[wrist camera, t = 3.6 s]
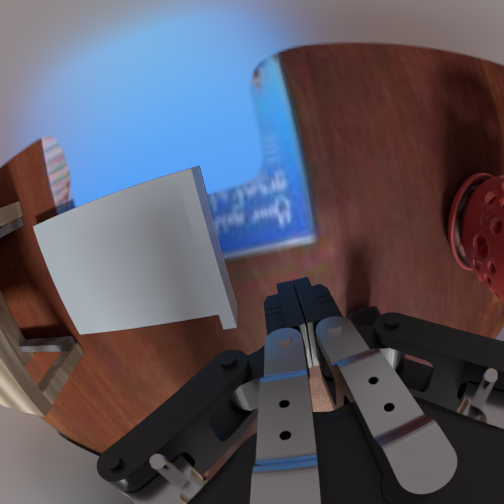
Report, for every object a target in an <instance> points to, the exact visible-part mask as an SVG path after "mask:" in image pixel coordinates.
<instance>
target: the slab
mask: <svg viewBox="0 0 504 504" xmlns="http://www.w3.org/2000/svg"><path fill="white" fill-rule="evenodd" d="M33 229H34V232H35V235H36V238H37V240H38V243H39V246H40V249H41V252H42V254H43V257H44V259H45V262H46V265H47V267H48V270H49V272H50V274H51V277H52V279H53V281H54V284H55V286H56V288H57V290H58V293H59V295H60V297H61V299H62V301H63V303H64V305H65V307H66V309H67V311H68V313H69V315H70V317H71V319H72V321H73V323H74V325H75V327H76V328H77V330H78V332H79V334H89V333H98V332H107V331H115V330H123V329H130V328H138V327H145V326H152V325H159V324H165V323H172V322H178V321H184V320H190V319H196V318H202V317H207V316H213V315H218V314H219V317H220V320H221V323H222V326H223V329H224V330H225V329H231V328H236V327H237V310H238V305H237V302H236V299H235V295H234V292H233V288H232V285H231V281H230V278H229V274H228V271H227V267H226V264H225V260H224V257H223V253H222V250H221V246H220V242H219V239H218V235H217V231H216V228H215V224H214V220H213V217H212V213H211V209H210V205H209V201H208V198H207V192H206V188H205V184H204V180H203V176H202V173H201V169H200V166H197V167H193V168H190V169H186V170H183V171H180V172H176V173H173V174H169V175H166V176H163V177H160V178H156V179H153V180H150V181H147V182H144V183H141V184H138V185H135V186H132V187H129V188H126V189H124V190H120V191H118V192H115V193H112V194H110V195H107V196H104V197H101V198H99V199H96V200H94V201H91V202H88V203H86V204H84V205H81V206H79V207H76V208H74V209H71V210H69V211H67V212H64V213H62V214H60V215H57V216H55V217H53V218H50V219H48V220H46V221H44V222H42V223H40V224H37V225H35V226H33Z"/></svg>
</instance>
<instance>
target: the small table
mask: <svg viewBox="0 0 504 504" xmlns="http://www.w3.org/2000/svg"><path fill="white" fill-rule="evenodd" d="M22 216H24V215H23V212H22V208H21V204H20V201H19V202H16V203H13V204H10V205H7V206H5V207H2V208H0V227H1V226H3V225H5V224H7V225H5V226H3V227H2V228H0V238H1V237H3V236H5V235H7V234H9V233H10V232H12V231H14V230H16V229H18V228H20V227H22V226H24V224H23V221H22V218H20V217H22ZM18 218H19V219H18ZM16 219H17V220H16ZM14 220H15V221H14ZM8 223H9V224H8ZM54 351H62V352H61V354H60V355H59V356H58V358H57V359H56V360H55V362H54V363H53V365H52V366H51V367H50V369H49V370H48V372H47V373H46V374H45V376H44V377H43V379H42V380H41V382H40V383H39V385H38V386H37V385H36V384H35V382H34V381H33V380H32V378H31V377H30V375H29V374H28V373H27V371H26V370H25V368H24V367H25V366H26V365H27V363H28V362H29V361H30V359H31V358H32V357H33V356H34V355H35V354H34V353H33V352H54ZM83 355H84V351H83V349H82V348H81V346H80V344H79V343H78V342H76V343H75V340H74V339H73V337H72V336H64V337H52V338H39V339H25V338H24V336H23V334H22V333H21V331H20V329H19V327H18V325H17V324H16V322H15V320H14V318H13V316H12V314H11V312H10V310H9V308H8V306H7V304H6V302H5V300H4V297H3V295H2V293H1V291H0V405H3V406H6V407H9V408H12V409H16V410H19V411H23V412H26V413H31V414H34V415H38V416H43V417H46V415H47V413H48V411H49V410H50V408H51V406H52V404H53V403H54V401H55V399H56V398H57V396H58V394H59V393H60V391H61V389H62V388H63V386H64V384H65V383H66V381H67V380H68V378H69V376H70V375H71V373H72V372H73V370H74V369H75V367H76V365H77V364H78V362H79V361H80V359H81V358H82V356H83Z"/></svg>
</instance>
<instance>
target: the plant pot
mask: <svg viewBox="0 0 504 504" xmlns="http://www.w3.org/2000/svg"><path fill="white" fill-rule="evenodd" d="M448 240H449V245H450V248H451V251H452V254H453V256H454V258H455V260H456V261H457V263H458V264H459V265H460V266H461V267H463V268H464V269H466V270H473V271H474V272H475V274H476V275H477V277H478V278H479V279H480V280H481V281H482V282H483V284H484V285H485V286H486V287H487V288H488V289H489V290H490V291H491V292H493V293H494V294H495V295H496V296H497V297H498V298H500V299H501V300H502V301H503V302H504V175H499V176H496V177H494V176H493V175H491V174H488V173H476V174H474V175H472V176H470V177H469V178H468V179H467V180H466V181H465V182H464V183H463V184H462V185H461V187H460V188H459V190H458V191H457V193H456V195H455V198H454V200H453V203H452V206H451V209H450V214H449V220H448Z"/></svg>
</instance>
